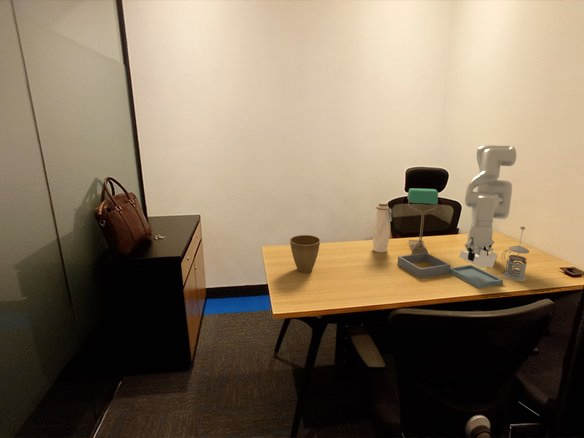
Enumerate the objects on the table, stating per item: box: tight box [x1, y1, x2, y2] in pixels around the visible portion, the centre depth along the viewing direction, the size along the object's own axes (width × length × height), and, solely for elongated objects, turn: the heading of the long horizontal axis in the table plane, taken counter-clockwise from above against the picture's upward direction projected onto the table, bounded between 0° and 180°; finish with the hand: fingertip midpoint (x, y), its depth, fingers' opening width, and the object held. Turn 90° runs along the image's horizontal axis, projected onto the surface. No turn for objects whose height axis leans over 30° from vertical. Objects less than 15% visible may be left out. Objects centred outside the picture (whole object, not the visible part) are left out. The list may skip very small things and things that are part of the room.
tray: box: [449, 264, 504, 289], centre depth 163 cm, size 14×19×2 cm
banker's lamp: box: [406, 187, 439, 254], centre depth 199 cm, size 16×21×35 cm
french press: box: [501, 226, 530, 282], centre depth 162 cm, size 10×12×25 cm
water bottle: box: [372, 201, 393, 253], centre depth 196 cm, size 10×9×28 cm
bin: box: [397, 252, 451, 279], centre depth 173 cm, size 18×18×4 cm
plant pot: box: [289, 234, 321, 273], centre depth 171 cm, size 15×15×16 cm
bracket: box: [458, 250, 498, 269], centre depth 160 cm, size 13×7×8 cm, turn 15°
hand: (477, 259), depth 160 cm, fingers closed on bracket, 7 cm apart
